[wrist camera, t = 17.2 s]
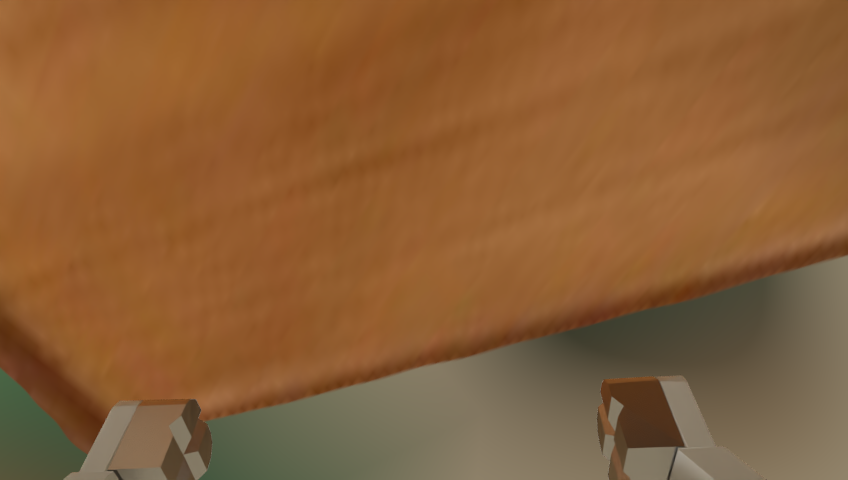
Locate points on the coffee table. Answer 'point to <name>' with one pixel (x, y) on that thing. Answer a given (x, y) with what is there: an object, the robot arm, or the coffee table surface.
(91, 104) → the coffee table surface
